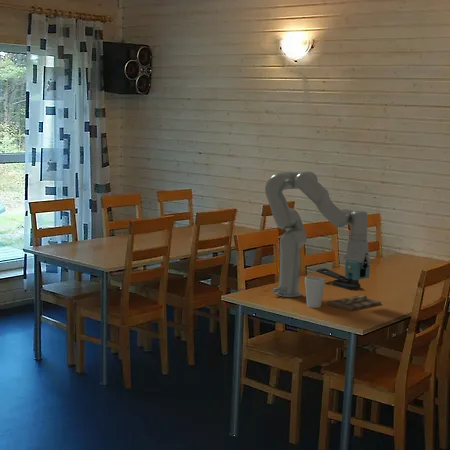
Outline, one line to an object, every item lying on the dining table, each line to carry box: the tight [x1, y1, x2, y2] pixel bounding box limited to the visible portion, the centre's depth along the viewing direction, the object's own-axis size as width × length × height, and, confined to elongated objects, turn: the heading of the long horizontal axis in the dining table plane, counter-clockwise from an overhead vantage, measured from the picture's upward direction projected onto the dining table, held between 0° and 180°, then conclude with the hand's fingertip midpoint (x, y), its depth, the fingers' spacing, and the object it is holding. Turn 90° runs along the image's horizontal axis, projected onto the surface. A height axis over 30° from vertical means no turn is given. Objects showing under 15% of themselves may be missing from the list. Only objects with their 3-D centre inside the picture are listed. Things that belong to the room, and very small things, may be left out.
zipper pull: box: [315, 267, 361, 291], centre depth 374 cm, size 9×7×25 cm
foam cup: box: [304, 275, 326, 309], centre depth 329 cm, size 10×9×13 cm
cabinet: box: [344, 260, 371, 281], centre depth 333 cm, size 11×6×8 cm, turn 129°
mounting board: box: [326, 294, 382, 312], centre depth 335 cm, size 22×14×3 cm, turn 129°
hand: (357, 275), depth 333 cm, fingers closed on cabinet, 6 cm apart
